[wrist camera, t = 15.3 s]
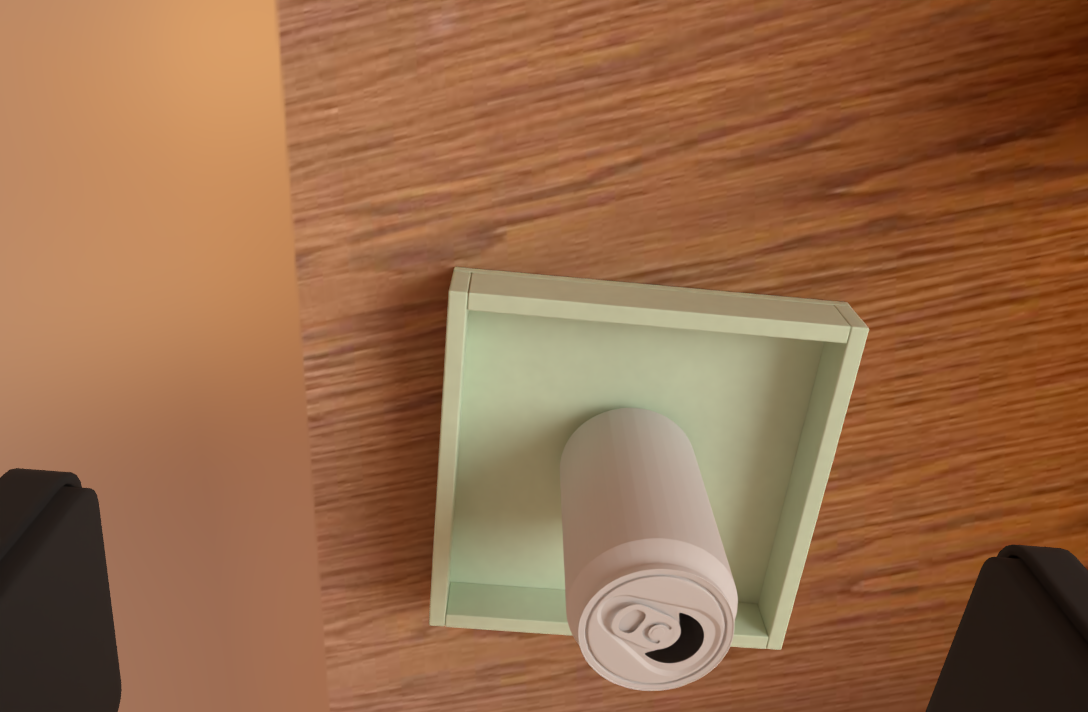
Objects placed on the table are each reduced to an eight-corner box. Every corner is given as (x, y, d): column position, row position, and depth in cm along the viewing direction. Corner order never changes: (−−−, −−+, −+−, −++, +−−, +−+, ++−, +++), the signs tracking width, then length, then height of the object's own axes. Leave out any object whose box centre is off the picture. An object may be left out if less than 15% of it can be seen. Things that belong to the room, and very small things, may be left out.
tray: (434, 586, 47) (428, 626, 44) (454, 266, 40) (448, 290, 37) (767, 609, 48) (781, 650, 45) (847, 301, 40) (870, 328, 38)
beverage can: (642, 534, 45) (678, 724, 34) (533, 477, 44) (533, 657, 33) (719, 439, 43) (783, 611, 32) (606, 376, 41) (633, 533, 30)
